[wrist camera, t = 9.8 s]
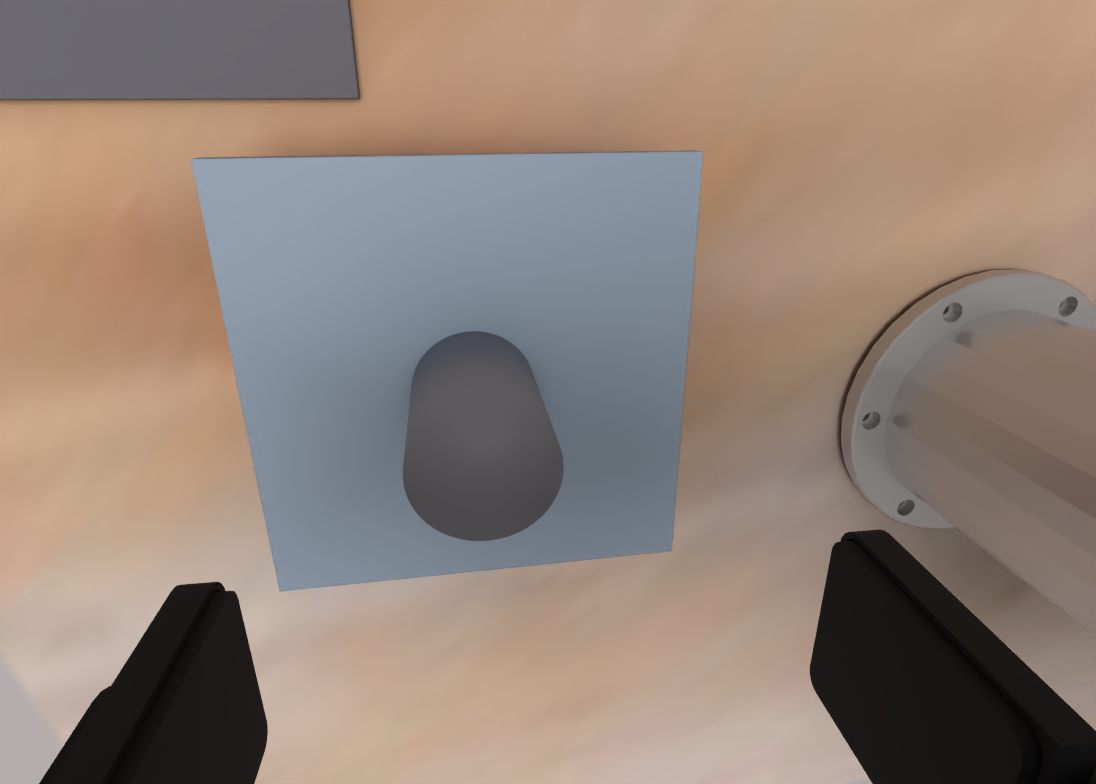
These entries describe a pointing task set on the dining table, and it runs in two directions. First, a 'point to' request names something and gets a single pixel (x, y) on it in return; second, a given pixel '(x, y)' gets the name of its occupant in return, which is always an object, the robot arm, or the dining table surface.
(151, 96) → the mat
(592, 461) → the lid
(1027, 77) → the dining table surface
